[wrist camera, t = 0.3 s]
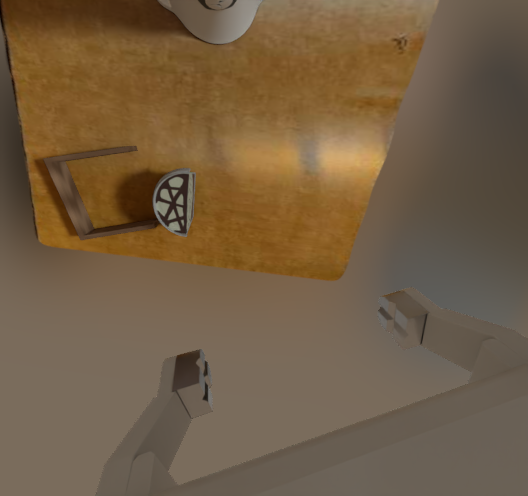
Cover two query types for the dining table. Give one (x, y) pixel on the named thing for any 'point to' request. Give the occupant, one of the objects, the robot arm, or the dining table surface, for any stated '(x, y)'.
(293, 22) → the dining table surface
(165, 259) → the dining table surface
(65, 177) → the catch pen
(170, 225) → the food container
